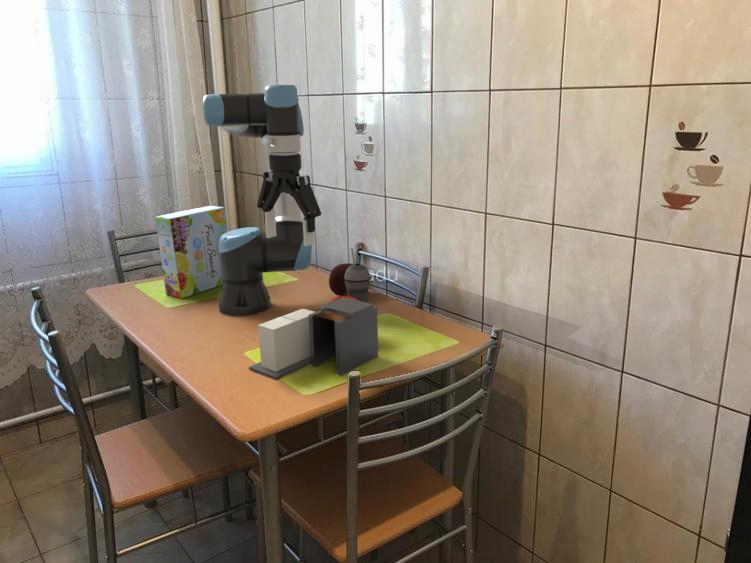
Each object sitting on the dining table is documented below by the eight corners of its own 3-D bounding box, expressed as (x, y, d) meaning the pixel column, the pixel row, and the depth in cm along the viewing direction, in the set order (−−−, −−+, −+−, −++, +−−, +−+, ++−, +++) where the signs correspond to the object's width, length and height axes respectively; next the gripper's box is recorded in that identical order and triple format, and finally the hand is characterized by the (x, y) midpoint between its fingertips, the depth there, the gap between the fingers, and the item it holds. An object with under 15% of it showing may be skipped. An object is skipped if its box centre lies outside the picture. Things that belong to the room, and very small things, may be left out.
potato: (376, 295, 194) (375, 263, 191) (339, 304, 186) (338, 270, 184) (357, 287, 202) (356, 256, 199) (321, 295, 195) (320, 263, 192)
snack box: (216, 278, 216) (209, 204, 209) (233, 282, 211) (227, 206, 204) (163, 294, 199) (153, 215, 192) (180, 299, 194) (171, 217, 187)
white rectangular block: (261, 366, 143) (258, 324, 140) (304, 347, 153) (302, 308, 150) (276, 371, 139) (273, 329, 137) (319, 351, 150) (317, 312, 147)
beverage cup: (368, 323, 170) (366, 251, 165) (342, 321, 172) (339, 251, 166) (373, 314, 177) (372, 245, 171) (348, 313, 178) (346, 244, 173)
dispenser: (311, 365, 144) (308, 310, 140) (349, 347, 154) (347, 295, 150) (340, 375, 138) (338, 318, 134) (378, 356, 148) (377, 303, 144)
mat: (249, 369, 142) (248, 366, 142) (299, 347, 154) (299, 345, 154) (275, 379, 137) (275, 377, 137) (326, 356, 149) (326, 354, 149)
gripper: (238, 151, 152) (245, 236, 159) (310, 158, 137) (314, 252, 143) (262, 148, 158) (268, 230, 164) (334, 155, 142) (337, 245, 149)
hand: (289, 240), depth 154 cm, fingers open, 13 cm apart
